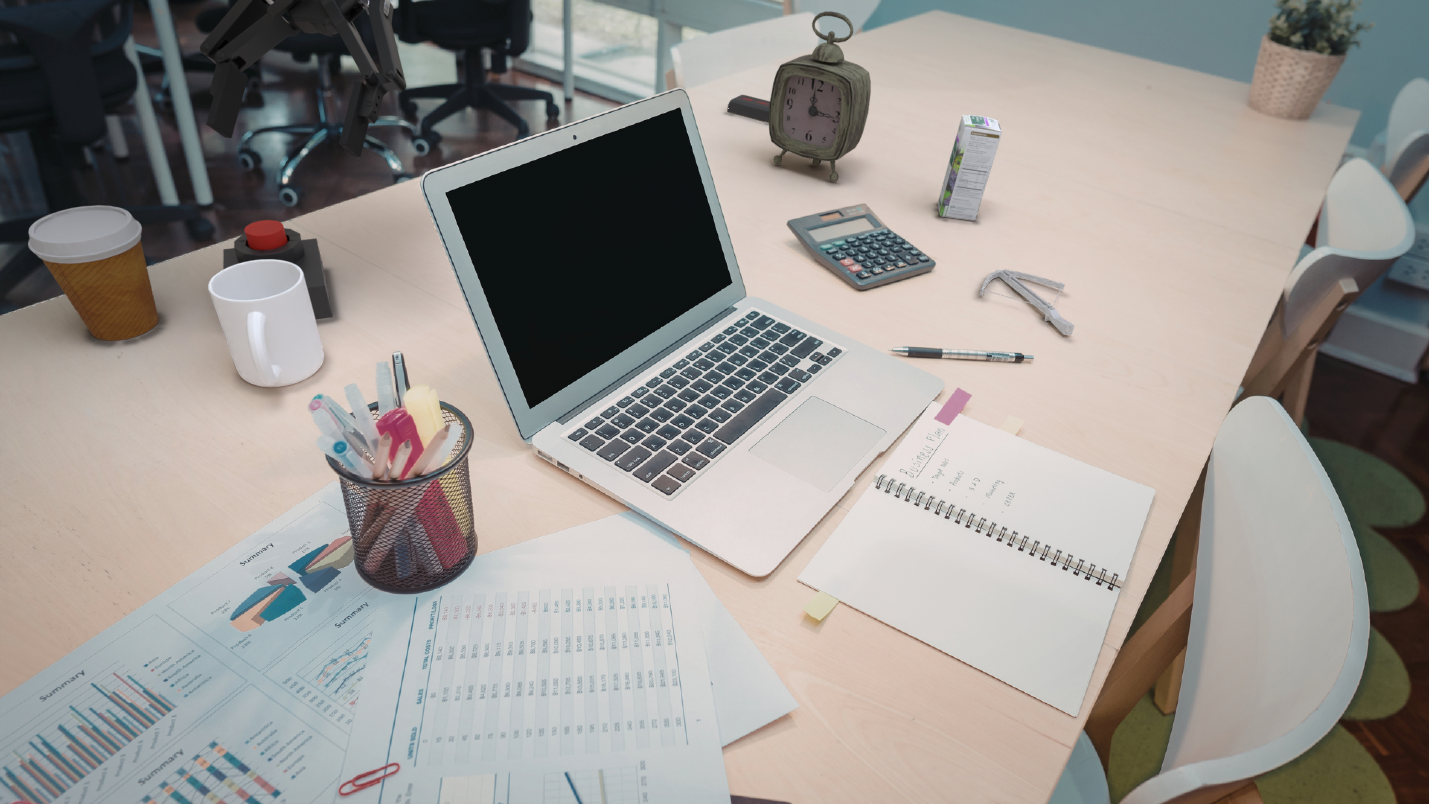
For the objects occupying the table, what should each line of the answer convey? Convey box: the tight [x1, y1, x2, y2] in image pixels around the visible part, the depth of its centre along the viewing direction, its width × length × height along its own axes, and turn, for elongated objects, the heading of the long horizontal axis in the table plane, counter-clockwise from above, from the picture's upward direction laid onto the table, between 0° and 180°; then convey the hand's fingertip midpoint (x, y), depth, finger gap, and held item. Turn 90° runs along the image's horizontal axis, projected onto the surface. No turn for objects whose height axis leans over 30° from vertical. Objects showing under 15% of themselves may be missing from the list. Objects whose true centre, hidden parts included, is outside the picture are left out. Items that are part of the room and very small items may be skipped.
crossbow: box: [979, 268, 1075, 336], centre depth 107 cm, size 16×13×2 cm
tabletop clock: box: [768, 10, 872, 183], centre depth 132 cm, size 14×9×25 cm, turn 58°
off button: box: [244, 219, 288, 250], centre depth 93 cm, size 4×4×2 cm
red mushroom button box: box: [222, 227, 334, 321], centre depth 93 cm, size 12×10×6 cm
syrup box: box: [937, 114, 1003, 222], centre depth 125 cm, size 6×6×14 cm
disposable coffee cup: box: [27, 204, 160, 342], centre depth 85 cm, size 10×10×12 cm
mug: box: [207, 259, 325, 388], centre depth 80 cm, size 12×8×10 cm
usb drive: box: [726, 94, 770, 123], centre depth 159 cm, size 5×12×3 cm, turn 59°
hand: (283, 141), depth 79 cm, fingers open, 13 cm apart
